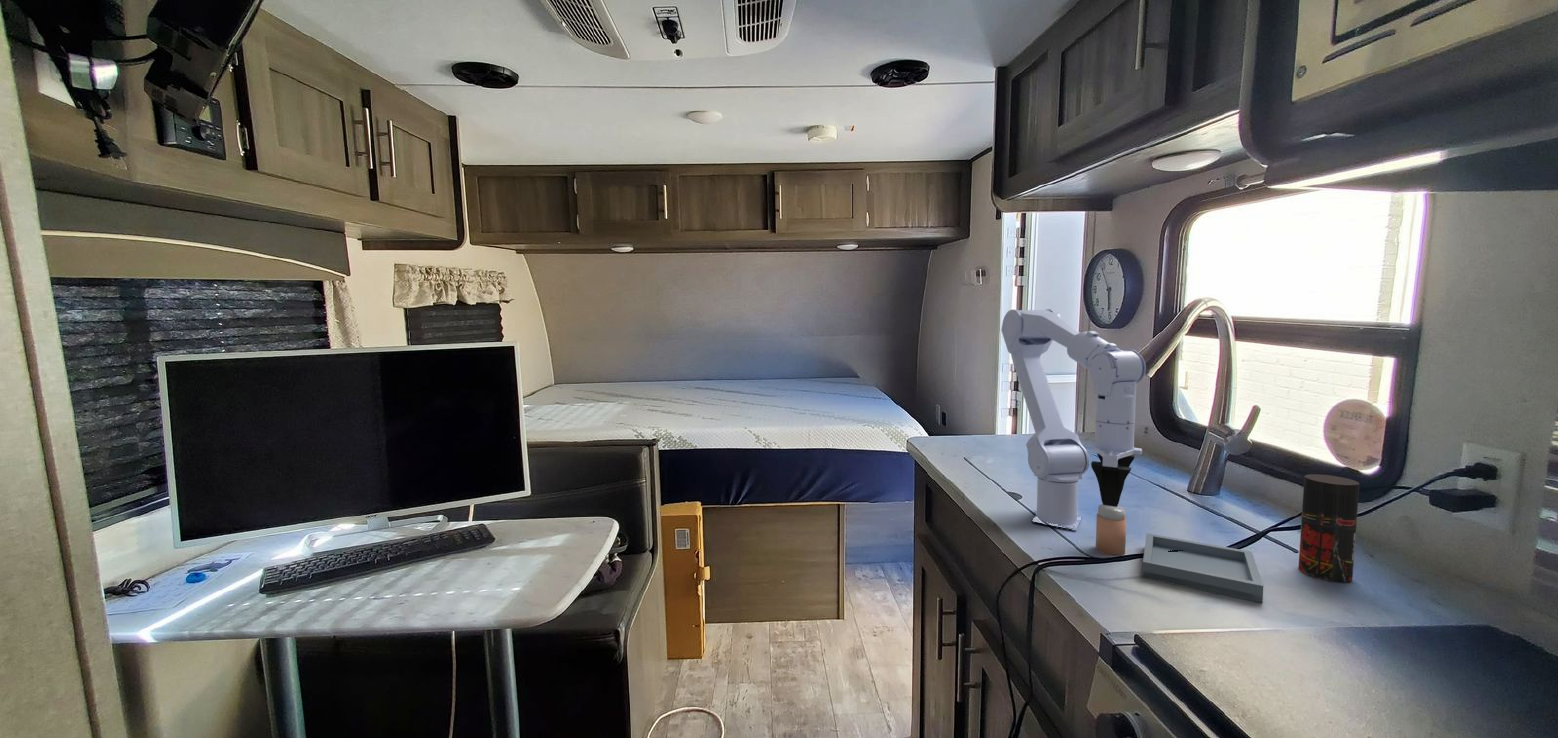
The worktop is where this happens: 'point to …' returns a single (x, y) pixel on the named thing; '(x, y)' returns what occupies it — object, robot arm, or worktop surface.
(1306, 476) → the deodorant
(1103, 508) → the shaker
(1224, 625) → the worktop surface
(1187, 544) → the tray
